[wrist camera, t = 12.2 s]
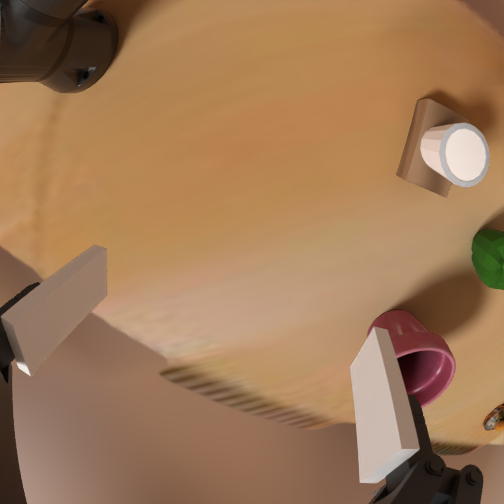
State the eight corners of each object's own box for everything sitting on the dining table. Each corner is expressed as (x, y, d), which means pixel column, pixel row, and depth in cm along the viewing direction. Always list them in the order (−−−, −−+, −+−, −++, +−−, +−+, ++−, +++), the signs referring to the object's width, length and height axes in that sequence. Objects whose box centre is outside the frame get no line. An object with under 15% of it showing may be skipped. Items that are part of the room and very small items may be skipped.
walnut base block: (395, 174, 36) (405, 180, 33) (417, 100, 32) (428, 98, 28) (434, 191, 36) (446, 198, 32) (456, 119, 31) (469, 120, 28)
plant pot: (436, 290, 42) (467, 339, 30) (424, 354, 47) (443, 406, 35) (352, 300, 45) (364, 357, 33) (351, 365, 50) (357, 421, 38)
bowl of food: (501, 423, 54) (508, 441, 47) (475, 428, 55) (482, 448, 48) (522, 396, 49) (531, 414, 42) (497, 401, 50) (506, 422, 44)
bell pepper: (501, 261, 38) (532, 290, 29) (464, 275, 40) (492, 308, 31) (501, 215, 35) (537, 238, 26) (462, 227, 37) (495, 254, 28)
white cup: (450, 114, 28) (479, 114, 22) (467, 165, 30) (496, 175, 24) (407, 131, 30) (430, 134, 24) (426, 183, 32) (451, 197, 26)
